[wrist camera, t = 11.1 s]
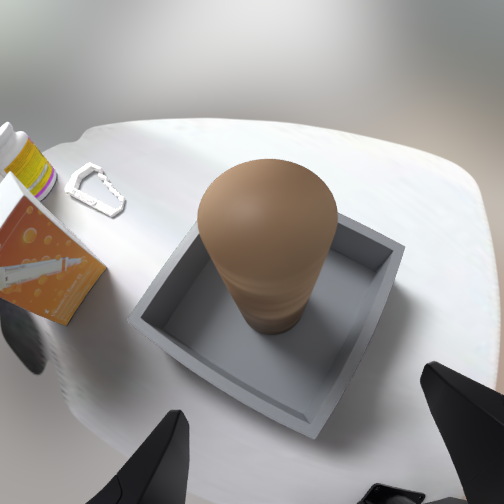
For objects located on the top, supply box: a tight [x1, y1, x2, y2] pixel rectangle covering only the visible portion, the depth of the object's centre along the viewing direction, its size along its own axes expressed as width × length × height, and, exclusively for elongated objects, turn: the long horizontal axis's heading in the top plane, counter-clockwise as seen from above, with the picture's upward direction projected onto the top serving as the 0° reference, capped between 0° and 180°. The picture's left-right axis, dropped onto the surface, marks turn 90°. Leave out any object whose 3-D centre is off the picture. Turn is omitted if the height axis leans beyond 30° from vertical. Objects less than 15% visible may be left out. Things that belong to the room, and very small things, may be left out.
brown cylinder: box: [197, 159, 338, 335], centre depth 15 cm, size 5×5×13 cm
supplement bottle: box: [0, 122, 56, 201], centre depth 26 cm, size 7×7×13 cm
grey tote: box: [127, 212, 405, 440], centre depth 20 cm, size 15×15×5 cm
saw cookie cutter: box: [64, 163, 125, 217], centre depth 30 cm, size 13×5×2 cm, turn 63°
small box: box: [0, 171, 107, 326], centre depth 19 cm, size 8×6×13 cm
